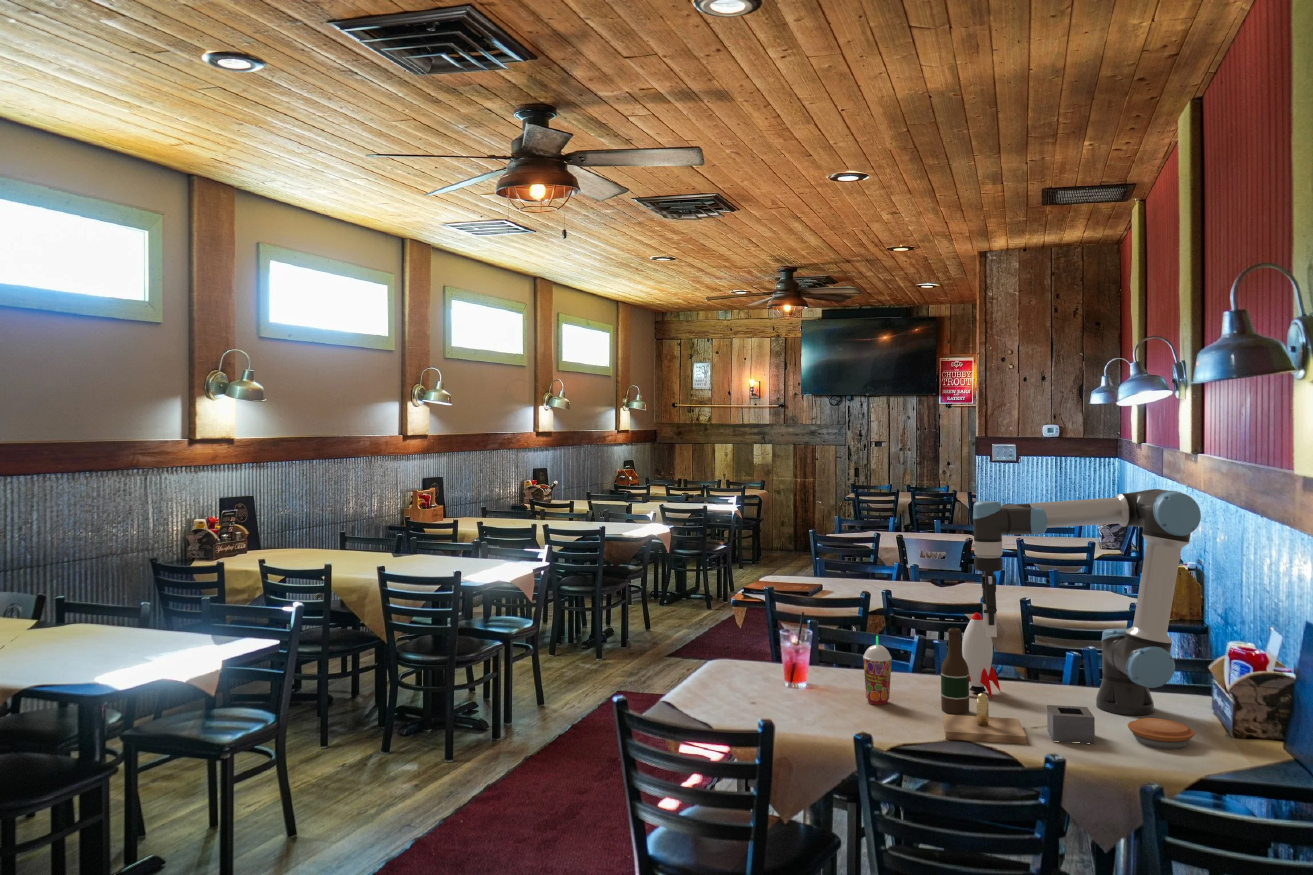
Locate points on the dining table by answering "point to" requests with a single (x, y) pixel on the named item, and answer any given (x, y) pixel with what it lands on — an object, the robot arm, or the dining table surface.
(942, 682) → the beer bottle
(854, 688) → the dining table surface
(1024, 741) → the board
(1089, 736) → the grey square socket block
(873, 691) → the smoothie
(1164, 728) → the pie
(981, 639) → the rocket
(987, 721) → the post
